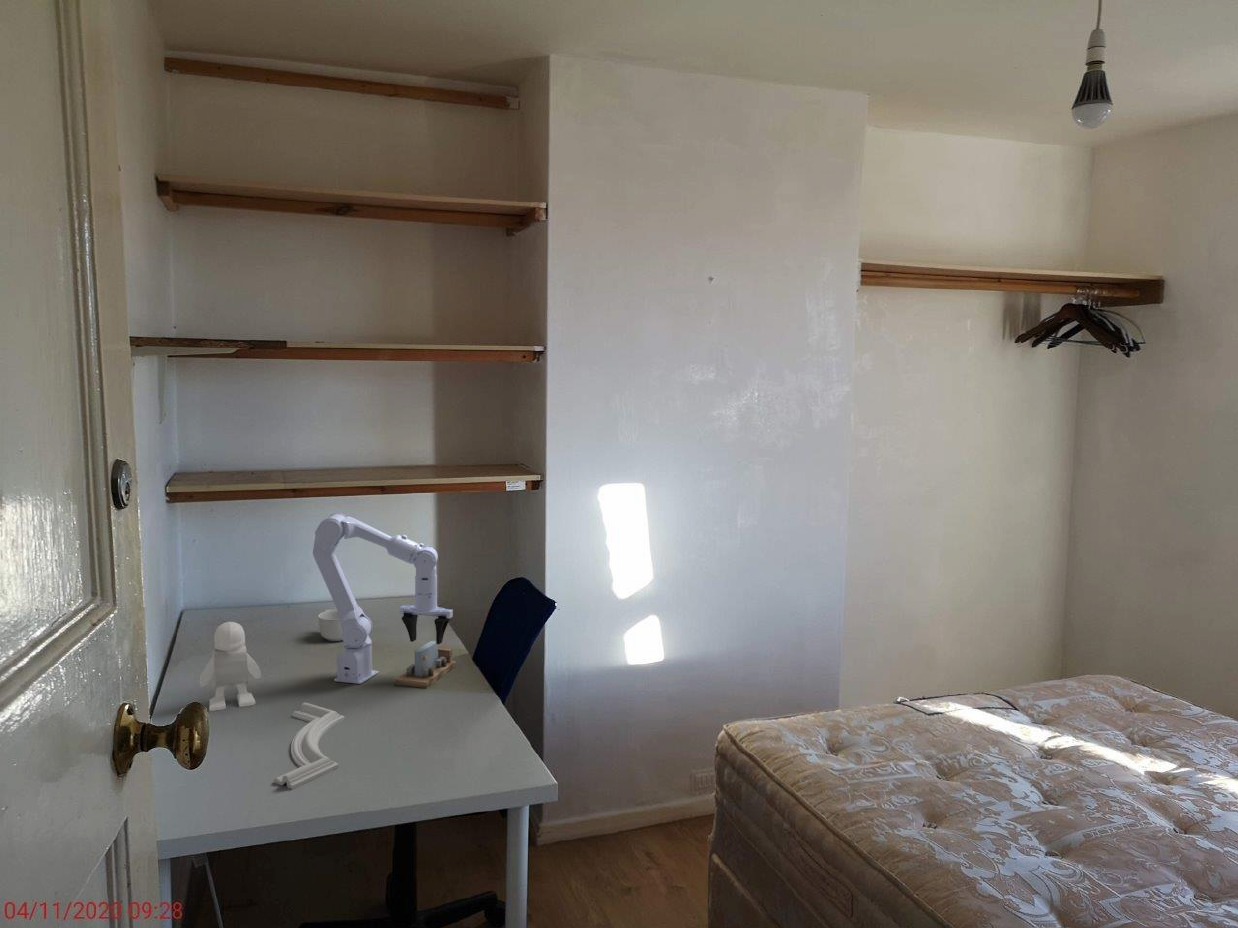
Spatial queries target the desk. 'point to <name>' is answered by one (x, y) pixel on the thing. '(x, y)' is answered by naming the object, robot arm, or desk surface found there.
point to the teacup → (330, 625)
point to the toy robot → (230, 666)
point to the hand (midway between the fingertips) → (426, 641)
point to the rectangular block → (426, 657)
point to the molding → (310, 746)
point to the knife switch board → (428, 671)
